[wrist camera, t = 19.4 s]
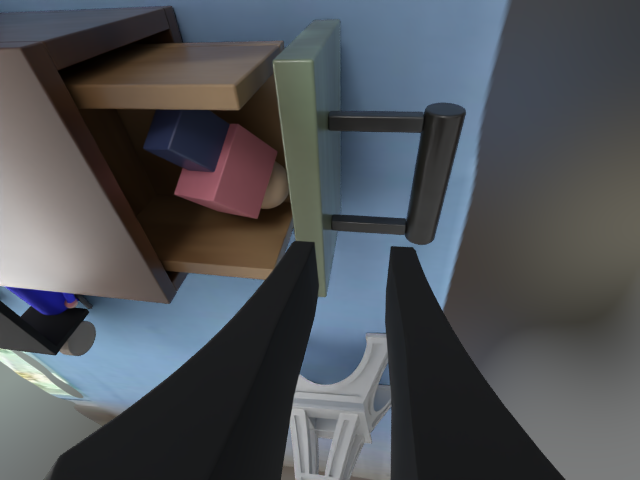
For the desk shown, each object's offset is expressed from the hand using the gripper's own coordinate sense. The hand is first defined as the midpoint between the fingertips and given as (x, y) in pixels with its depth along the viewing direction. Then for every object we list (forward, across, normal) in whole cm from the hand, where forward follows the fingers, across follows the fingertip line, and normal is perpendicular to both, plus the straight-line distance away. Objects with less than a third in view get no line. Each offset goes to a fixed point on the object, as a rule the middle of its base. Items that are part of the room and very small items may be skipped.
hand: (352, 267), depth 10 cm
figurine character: (+11, +30, +15) cm, 35 cm away
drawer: (+10, +5, 0) cm, 11 cm away
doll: (+7, +6, -1) cm, 9 cm away
